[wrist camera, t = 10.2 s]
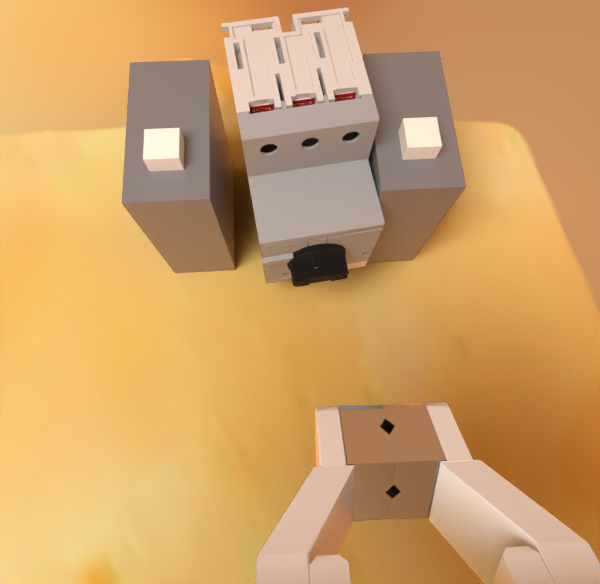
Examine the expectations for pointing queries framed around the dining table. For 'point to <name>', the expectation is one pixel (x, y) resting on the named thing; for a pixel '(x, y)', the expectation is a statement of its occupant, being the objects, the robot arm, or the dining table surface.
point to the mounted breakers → (219, 170)
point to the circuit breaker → (306, 143)
